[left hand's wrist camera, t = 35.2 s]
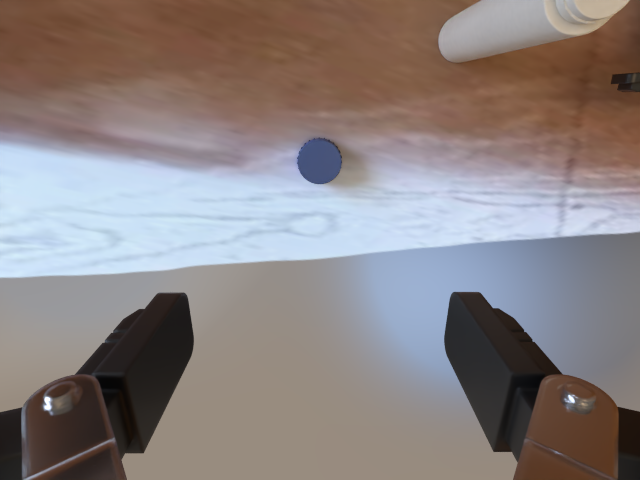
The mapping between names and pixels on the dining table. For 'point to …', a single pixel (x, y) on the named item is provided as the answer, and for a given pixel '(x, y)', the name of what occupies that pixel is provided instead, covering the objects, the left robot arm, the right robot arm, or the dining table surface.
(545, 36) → the white tube
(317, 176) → the lid
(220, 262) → the dining table surface
